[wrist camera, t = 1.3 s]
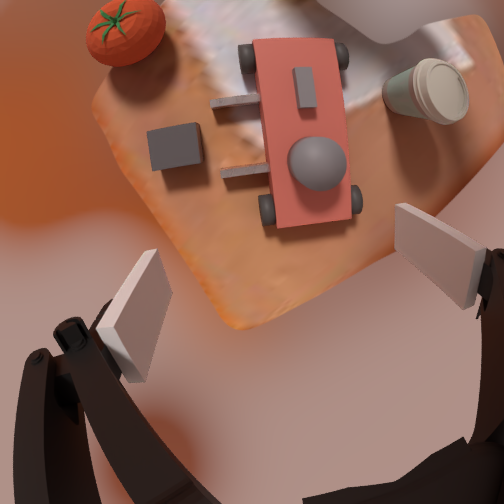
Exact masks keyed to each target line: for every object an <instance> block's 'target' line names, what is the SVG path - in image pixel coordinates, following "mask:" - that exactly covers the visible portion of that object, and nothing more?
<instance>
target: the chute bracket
mask: <svg viewBox="0 0 504 504" xmlns="http://www.w3.org/2000/svg"><path fill="white" fill-rule="evenodd" d="M260 101H261V100H260V93H259V94H250V95H241V96H234V97H226V98H220V99H213V100H210V106H211V109H212V110H214V109H220V108H227V107H234V106H241V105H249V104H258V103H259V102H260ZM263 172H270V170H269V164H268V163H267V162H263V163H255V164H248V165H240V166H234V167H227V168H221V170H220V173H221V178H228V177H234V176H241V175H248V174H256V173H263Z"/></svg>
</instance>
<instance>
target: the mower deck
mask: <svg viewBox="0 0 504 504" xmlns="http://www.w3.org/2000/svg"><path fill="white" fill-rule="evenodd" d="M238 54H239V62H240V69H241V73H242V74H246V73H254V74H255V81H256V88H257V94H259V93H260V100H261V101H260V102H259V109H260V116H261V124H262V131H263V139H264V147H265V155H266V162H267V163H268V164H269V170H270V172H268V179H269V188H270V194H267V195H260V196H258V201H259V209H260V216H261V222H262V226H268V225H275V224H276V226H277V229H278V228H285V227H292V226H299V225H307V224H314V223H322V222H330V221H337V220H345V219H352V214H360V213H361V211H362V208H363V199H362V194H361V191H360V189H359V187H358V186H357V185H351V182H350V163H349V149H348V137H347V127H346V117H345V108H344V100H343V93H342V86H341V79H340V72H339V70H346V69H347V67H348V64H349V53H348V50H347V47H346V46H345V44H343V43H334V39H328V38H270V39H255V40H253V41H252V44H245V45H238Z"/></svg>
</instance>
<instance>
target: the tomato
mask: <svg viewBox="0 0 504 504" xmlns="http://www.w3.org/2000/svg"><path fill="white" fill-rule="evenodd" d="M165 26H166V20H165V15H164V13H163V10H162V9H161V7H160V6H159V5H158V4H157V3H156V2H155V1H153V0H113V1H111V2H109V3H108V4H106V5H105V6H103V7H102V8H101V9H100V10H99V11H98V12H97V13H96V14H95V16H94V17H93V18H92V20H91V22H90V24H89V26H88V29H87V34H86V44H87V47H88V50H89V52H90V54H91V55H92V57H94V58H95V59H96V60H97V61H98V62H100V63H102V64H105V65H109V66H114V67H121V66H126V65H130V64H133V63H136V62H138V61H140V60H142V59H144V58H145V57H147V56H148V55H149V54H150V53H151V52H153V51H154V50H155V48H156V47H157V46H158V45H159V43H160V41H161V39H162V38H163V34H164V31H165Z"/></svg>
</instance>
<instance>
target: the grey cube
mask: <svg viewBox="0 0 504 504" xmlns="http://www.w3.org/2000/svg"><path fill="white" fill-rule="evenodd" d="M147 138H148V146H149V153H150V159H151V166H152V171H157V170H162V169H168V168H173V167H179V166H185V165H192V164H198V163H201V162H203V161H204V158H203V151H202V143H201V135H200V126H199V124H198V123H196V122H194V123H188V124H182V125H177V126H171V127H166V128H161V129H156V130H152V131H147Z"/></svg>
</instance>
